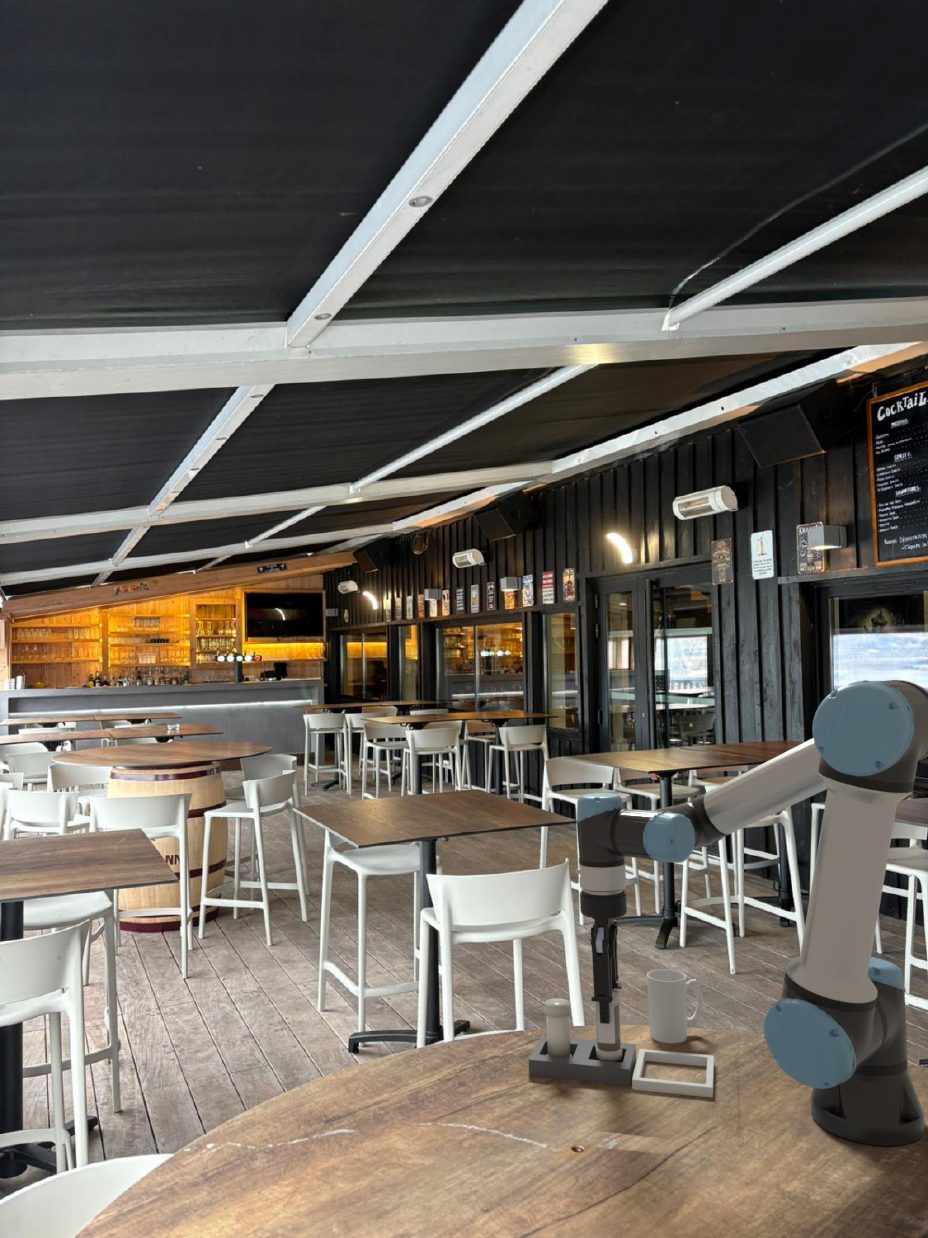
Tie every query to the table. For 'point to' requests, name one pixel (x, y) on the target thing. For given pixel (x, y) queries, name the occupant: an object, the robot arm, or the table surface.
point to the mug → (671, 1005)
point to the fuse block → (583, 1063)
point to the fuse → (558, 1027)
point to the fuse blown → (615, 1050)
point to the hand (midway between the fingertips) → (608, 1036)
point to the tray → (674, 1086)
